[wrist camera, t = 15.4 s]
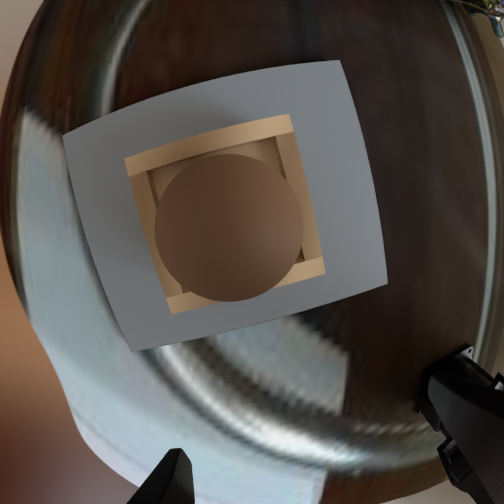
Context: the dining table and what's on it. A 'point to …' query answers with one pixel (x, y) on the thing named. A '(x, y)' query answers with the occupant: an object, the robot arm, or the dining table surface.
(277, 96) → the grey rectangular plate
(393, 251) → the dining table surface
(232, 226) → the walnut peg
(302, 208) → the oak socket block
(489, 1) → the passion flower
